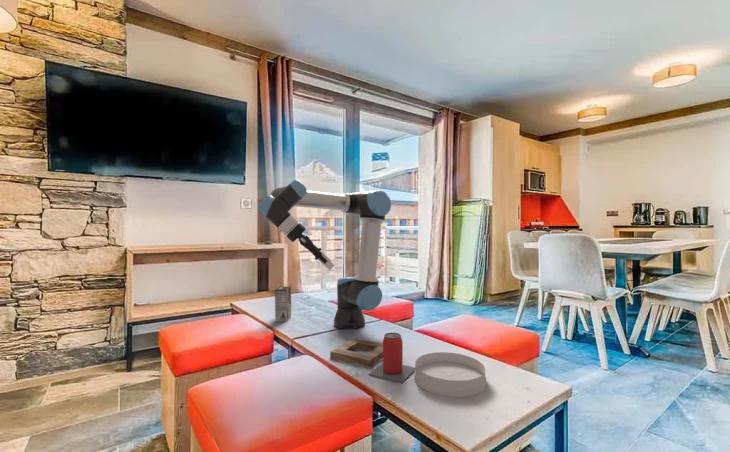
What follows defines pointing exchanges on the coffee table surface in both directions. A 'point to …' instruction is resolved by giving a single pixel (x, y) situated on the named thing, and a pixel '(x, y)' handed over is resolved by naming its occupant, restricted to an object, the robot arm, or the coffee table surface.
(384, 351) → the beer can
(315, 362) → the coffee table surface
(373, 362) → the pocket tray
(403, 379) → the coaster
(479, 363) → the dish
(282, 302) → the coffee box
